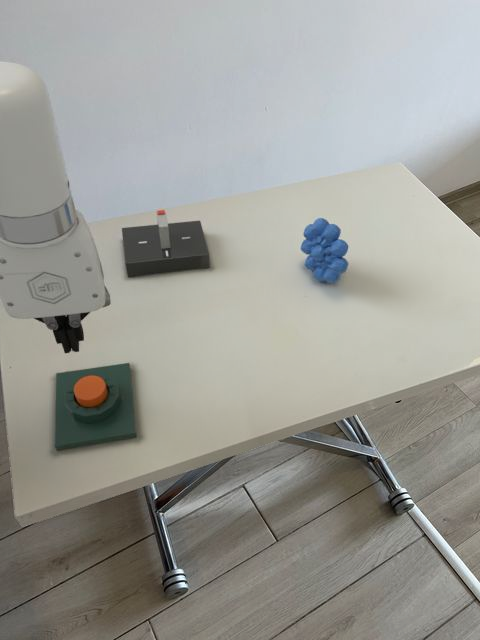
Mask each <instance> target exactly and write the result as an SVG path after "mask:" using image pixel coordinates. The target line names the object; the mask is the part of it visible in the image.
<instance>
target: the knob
mask: <svg viewBox="0 0 480 640" xmlns="http://www.w3.org/2000/svg"><path fill="white" fill-rule="evenodd" d="M155 214H156V221H157V225H158V230H159V237H160V242H161V248H162V249H166V248H170V239H169V229H168V223H169V222H168V218H167V213H166V210H165V209H159V210H156V211H155Z"/></svg>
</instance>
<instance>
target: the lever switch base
mask: <svg viewBox="0 0 480 640" xmlns="http://www.w3.org/2000/svg"><path fill="white" fill-rule="evenodd" d="M167 223H168V229H169V239H170V248H166V249H162V248H161V242H160V237H159V230H158V224H148V225H140V226H139V225H137V226H129V227H128V226H127V227H121V236H122V244H123V245H122V247H123V254H124V263H125V270H126V276H127V277H128V278H133V277H141V276H142V277H144V276H152V275H158V274H159V275H160V274H168V273H177V272H185V271H194V270H203V269H210V268H211V264H210V263H211V261H210V252H209V248H208V244H207V241H206V237H205V236H206V235H205V233H204V230H203V229H204V228H203V225H202V221H201V220H200V219H199V220H190V221H181V222H170V223H169V222H167Z"/></svg>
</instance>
